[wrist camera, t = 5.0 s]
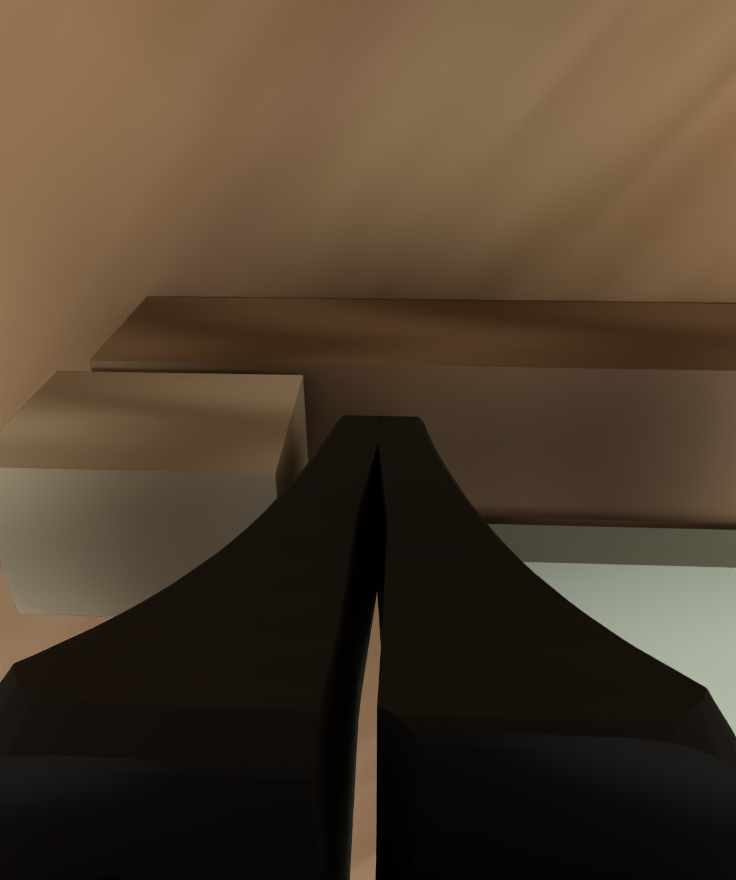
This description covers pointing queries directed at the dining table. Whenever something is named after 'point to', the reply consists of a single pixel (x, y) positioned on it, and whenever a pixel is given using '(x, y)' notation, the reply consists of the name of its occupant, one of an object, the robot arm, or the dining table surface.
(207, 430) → the pale grey block
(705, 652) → the lid
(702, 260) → the dining table surface
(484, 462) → the brown wooden tray
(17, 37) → the dining table surface
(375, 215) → the dining table surface
